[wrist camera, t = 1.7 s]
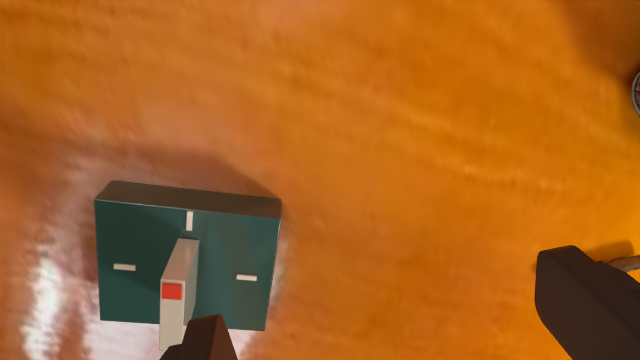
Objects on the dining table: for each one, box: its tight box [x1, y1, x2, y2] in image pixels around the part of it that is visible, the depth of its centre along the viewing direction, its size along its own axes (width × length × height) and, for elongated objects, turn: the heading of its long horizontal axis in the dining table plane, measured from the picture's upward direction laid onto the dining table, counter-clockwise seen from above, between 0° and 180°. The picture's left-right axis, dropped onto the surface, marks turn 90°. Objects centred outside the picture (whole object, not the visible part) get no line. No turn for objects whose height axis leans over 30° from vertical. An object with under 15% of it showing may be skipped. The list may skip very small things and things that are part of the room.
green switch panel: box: [94, 180, 281, 331], centre depth 30 cm, size 12×10×3 cm
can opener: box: [606, 255, 640, 272], centre depth 35 cm, size 9×2×1 cm, turn 96°
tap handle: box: [159, 238, 199, 351], centre depth 27 cm, size 6×1×5 cm, turn 170°
